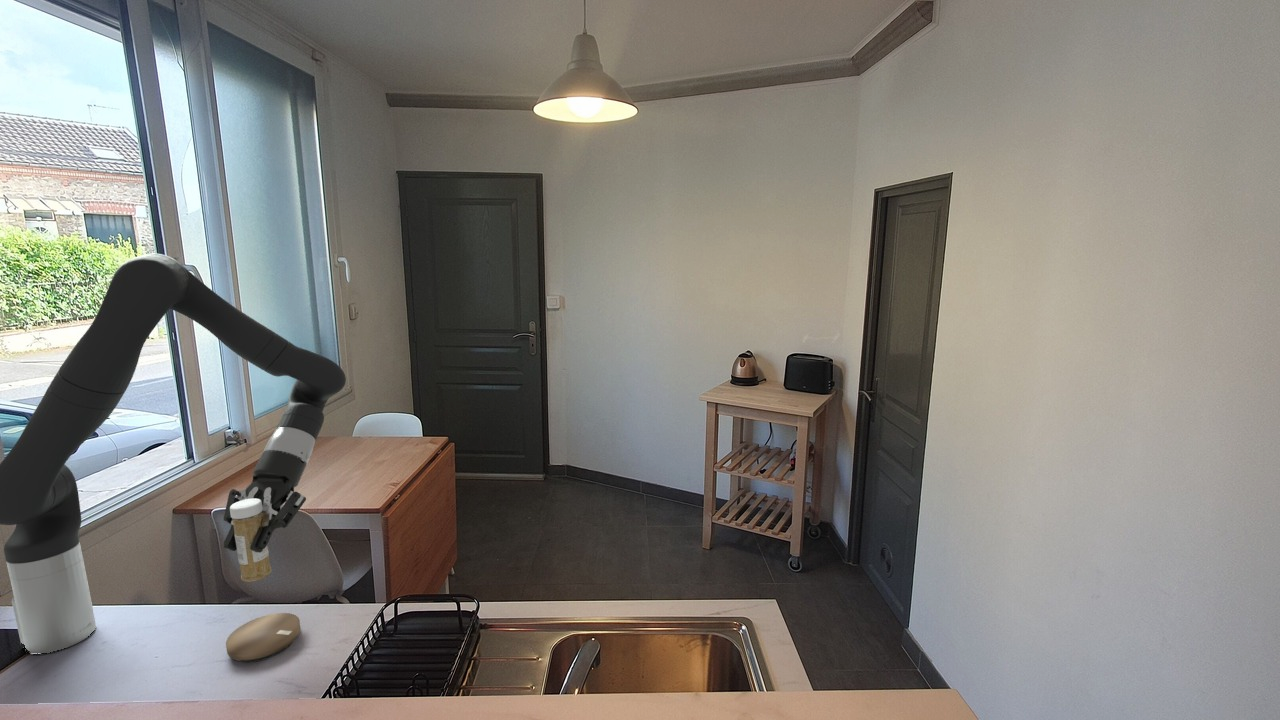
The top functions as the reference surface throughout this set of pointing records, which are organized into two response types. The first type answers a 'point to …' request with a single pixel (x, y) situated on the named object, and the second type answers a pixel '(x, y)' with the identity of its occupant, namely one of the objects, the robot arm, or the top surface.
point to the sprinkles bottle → (249, 539)
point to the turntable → (263, 636)
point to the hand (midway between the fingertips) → (242, 549)
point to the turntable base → (266, 656)
